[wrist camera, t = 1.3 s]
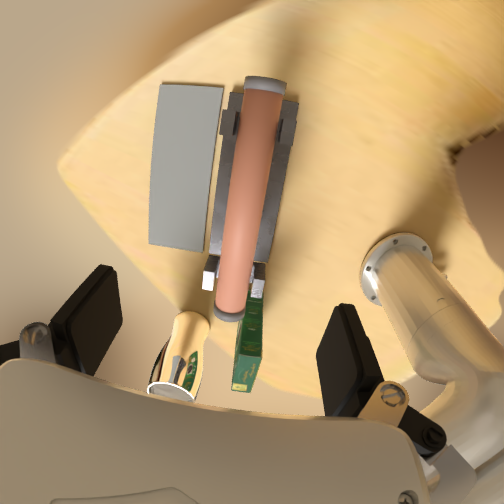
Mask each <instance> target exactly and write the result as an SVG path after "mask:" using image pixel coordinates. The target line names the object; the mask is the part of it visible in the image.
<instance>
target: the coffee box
mask: <svg viewBox="0 0 504 504" xmlns="http://www.w3.org/2000/svg"><path fill="white" fill-rule="evenodd" d="M262 327H263V292H262V297H261V298H255V297H251V290H248V293H247V299H246V310H245V315H244V317H243V318H242V319H241V320H239V324H238V330H237V338H236V347H235V358H234V368H233V377H232V388H231V390H232V391H239V392H247V393H250V392H251V390H252V387H253V384H254V381H255V379H256V376H257V373H258V370H259V367H260V363H261V360H262Z"/></svg>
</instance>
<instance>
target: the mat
mask: <svg viewBox="0 0 504 504" xmlns="http://www.w3.org/2000/svg"><path fill="white" fill-rule="evenodd" d="M223 89H224V88H218V87H206V86H191V85H160V89H159V96H158V103H157V111H156V119H155V128H154V138H153V149H152V161H151V176H150V197H149V244H152V245H158V246H164V247H170V248H176V249H182V250H189V251H195V252H201V253H203V247H204V236H205V226H206V216H207V207H208V198H209V189H210V181H211V172H212V164H213V157H214V149H215V142H216V135H217V128H218V121H219V115H220V108H221V102H222V96H223Z"/></svg>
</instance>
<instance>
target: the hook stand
mask: <svg viewBox="0 0 504 504" xmlns="http://www.w3.org/2000/svg"><path fill="white" fill-rule="evenodd" d="M243 96H244V94H242V93H234V92H230V96H229V102H228V108H227V110H224V109H223V112H222V118H221V125H220V132H219V134H220V135H223V141H222V148H221V155H220V163H219V170H218V178H217V186H216V194H215V202H214V211H213V220H212V229H211V238H210V248H209V253H210V254H216V255H221V248H222V240H223V232H224V224H225V216H226V209H227V201H228V194H229V187H230V180H231V173H232V166H233V159H234V152H235V146H236V139H237V133H238V127H239V120H240V114H241V108H242V102H243ZM298 105H299V103H296V102H291V101H286V100H282V105H281V110H280V116H279V122H278V127H277V133H276V138H275V144H274V150H273V155H272V161H271V166H270V172H269V178H268V183H267V189H266V194H265V200H264V205H263V211H262V216H261V222H260V227H259V233H258V238H257V244H256V249H255V255H254V261H261V262H267V263H268V259H269V254H270V249H271V244H272V240H273V235H274V230H275V225H276V220H277V215H278V210H279V205H280V200H281V195H282V190H283V185H284V180H285V174H286V169H287V164H288V159H289V154H290V148H291V146H292V145H293V139H294V134H295V129H296V123H297V121H296V116H297V111H298ZM219 265H220V256H213V255H209V258H208V260H207V263H206V266H205V268H204V272H203V284H202V289H205V290H211V291H213V287H214V284H215V280H216V278H218V273H219ZM249 283H252V285H251V297H255V298H261V297H262V292H263V288H264V283H265V264H264V263H257V262H253V266H252V271H251V277H250V282H249Z"/></svg>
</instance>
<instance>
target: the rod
mask: <svg viewBox="0 0 504 504" xmlns="http://www.w3.org/2000/svg"><path fill="white" fill-rule="evenodd" d="M286 84H287V83H285V82H283V81H280V80H277V79H273V78H267V77H260V76H246V77H245V82H244V88H243V89H244V96H243V102H242V108H241V114H240V120H239V127H238V133H237V139H236V146H235V152H234V159H233V166H232V173H231V180H230V187H229V194H228V201H227V209H226V216H225V224H224V232H223V240H222V248H221V256H220V265H219V273H218V282H217V291H216V299H215V301H214V310H213V311H214V314H215V316H216V317H217V318H219V319H220V320H223V321H226V322H237V321H239V320H241V319H242V318H243V317H244V315H245V310H246V299H247V293H248V288H249V282H250V277H251V271H252V266H253V260H254V255H255V249H256V244H257V238H258V233H259V227H260V222H261V216H262V211H263V205H264V200H265V194H266V189H267V183H268V178H269V172H270V166H271V161H272V155H273V150H274V144H275V138H276V133H277V127H278V122H279V116H280V110H281V105H282V99H283V96H284V95H285V90H286Z"/></svg>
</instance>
